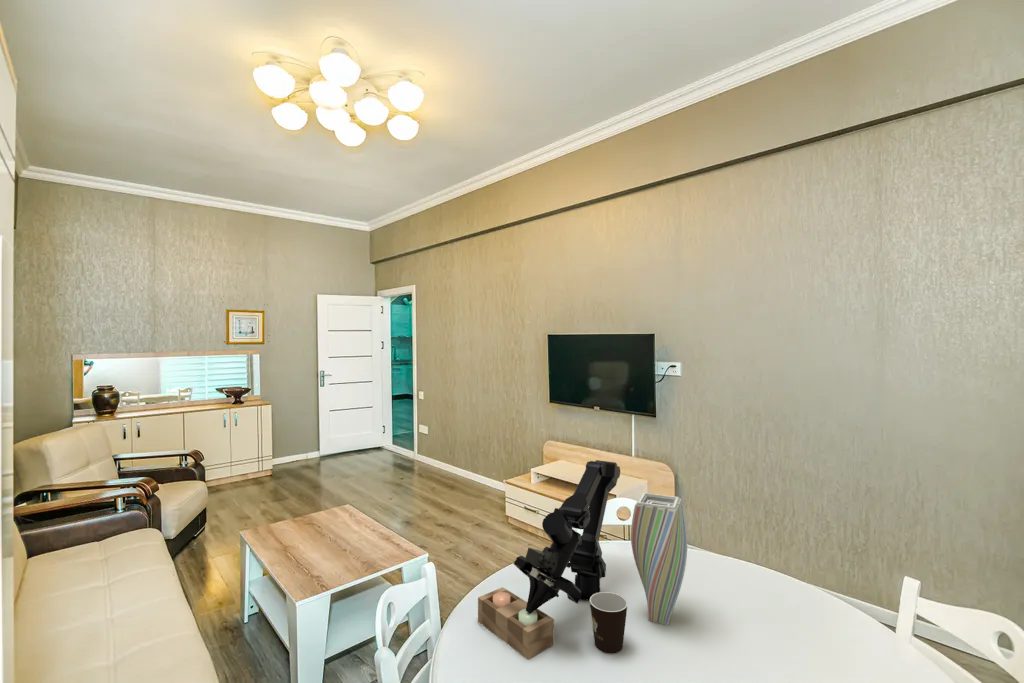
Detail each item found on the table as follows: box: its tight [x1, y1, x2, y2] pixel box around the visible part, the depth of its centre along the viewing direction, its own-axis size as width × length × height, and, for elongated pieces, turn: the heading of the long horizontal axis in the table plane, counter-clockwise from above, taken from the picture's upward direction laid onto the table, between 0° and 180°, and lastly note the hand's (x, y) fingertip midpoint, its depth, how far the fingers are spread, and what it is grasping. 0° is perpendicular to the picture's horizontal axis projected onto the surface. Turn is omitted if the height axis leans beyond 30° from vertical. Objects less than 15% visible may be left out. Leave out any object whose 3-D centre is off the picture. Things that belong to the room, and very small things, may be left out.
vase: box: [630, 492, 688, 626], centre depth 120 cm, size 14×14×30 cm
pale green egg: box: [519, 609, 537, 626], centre depth 110 cm, size 4×4×5 cm
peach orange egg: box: [493, 592, 510, 608], centre depth 118 cm, size 4×4×5 cm
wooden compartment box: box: [477, 586, 555, 660], centre depth 114 cm, size 8×19×6 cm, turn 40°
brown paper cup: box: [589, 591, 628, 655], centre depth 111 cm, size 12×9×10 cm
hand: (527, 612), depth 110 cm, fingers closed
